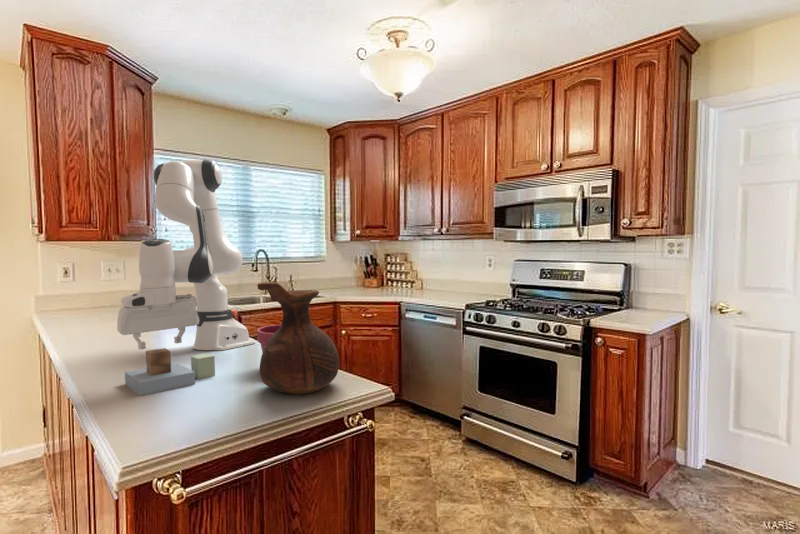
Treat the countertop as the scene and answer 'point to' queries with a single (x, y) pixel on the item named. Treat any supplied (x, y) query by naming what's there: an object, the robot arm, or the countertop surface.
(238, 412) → the countertop surface
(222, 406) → the countertop surface
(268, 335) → the plant pot
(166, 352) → the walnut block
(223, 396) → the countertop surface
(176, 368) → the slate base block
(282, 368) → the jug
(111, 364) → the countertop surface
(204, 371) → the sage block
